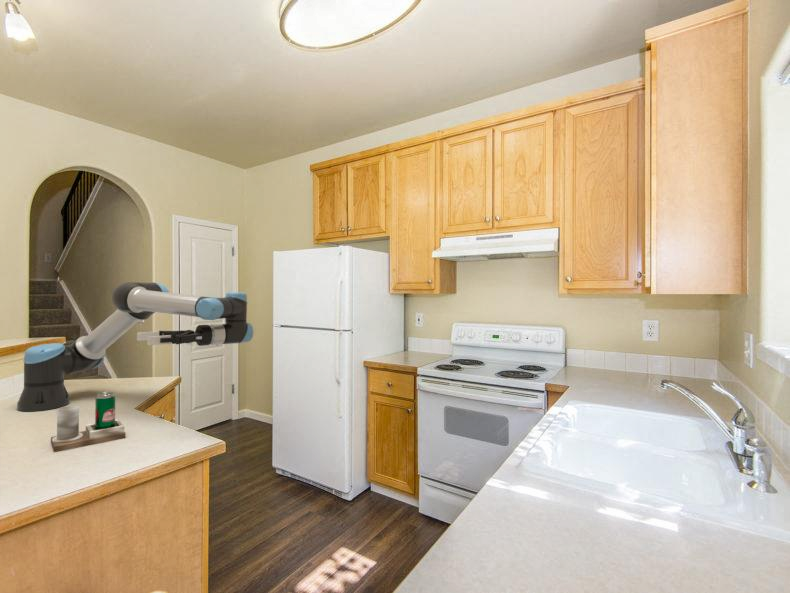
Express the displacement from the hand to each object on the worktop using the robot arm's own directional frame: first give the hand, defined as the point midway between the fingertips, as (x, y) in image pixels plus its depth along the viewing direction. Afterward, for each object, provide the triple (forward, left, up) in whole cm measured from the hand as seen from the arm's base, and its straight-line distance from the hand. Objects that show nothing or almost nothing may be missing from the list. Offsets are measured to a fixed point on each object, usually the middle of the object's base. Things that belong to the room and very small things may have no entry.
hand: (142, 338), depth 132 cm
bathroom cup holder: (+12, -7, -30) cm, 33 cm away
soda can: (+8, -5, -29) cm, 30 cm away
